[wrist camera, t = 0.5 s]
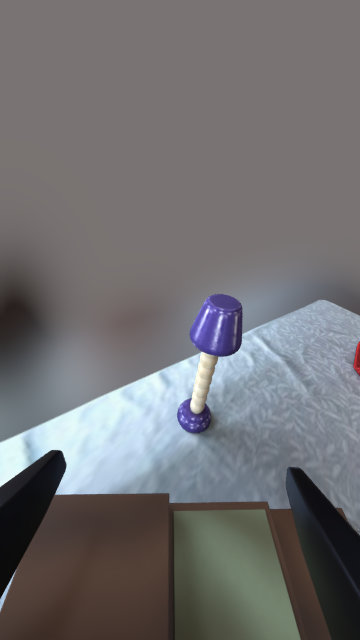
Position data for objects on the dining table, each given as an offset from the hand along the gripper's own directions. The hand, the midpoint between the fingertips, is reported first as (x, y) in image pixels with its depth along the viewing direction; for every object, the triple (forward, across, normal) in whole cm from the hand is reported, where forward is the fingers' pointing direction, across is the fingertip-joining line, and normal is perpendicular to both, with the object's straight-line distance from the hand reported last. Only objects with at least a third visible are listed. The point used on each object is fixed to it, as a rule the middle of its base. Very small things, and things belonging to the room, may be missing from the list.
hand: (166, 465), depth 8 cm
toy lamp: (+15, +1, +12) cm, 19 cm away
